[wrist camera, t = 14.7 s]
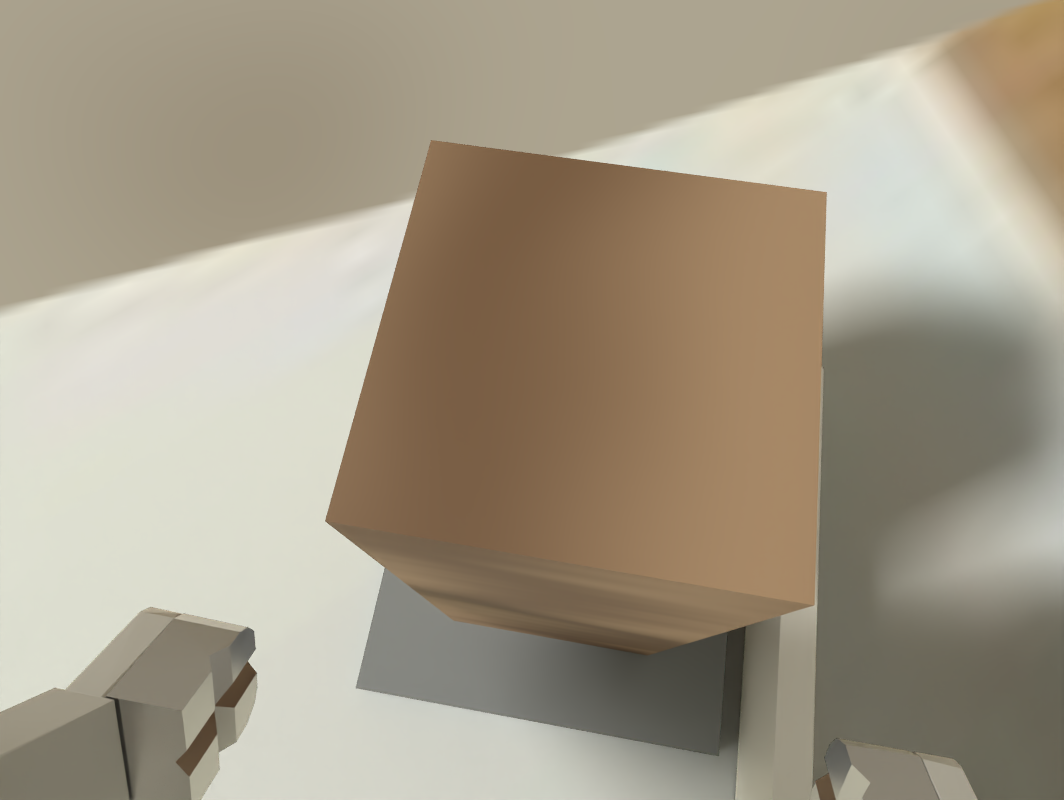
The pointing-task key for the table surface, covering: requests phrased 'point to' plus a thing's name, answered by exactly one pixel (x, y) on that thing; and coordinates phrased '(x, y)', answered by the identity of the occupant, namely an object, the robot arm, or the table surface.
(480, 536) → the walnut block
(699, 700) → the coaster
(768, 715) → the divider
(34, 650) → the table surface
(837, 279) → the table surface
